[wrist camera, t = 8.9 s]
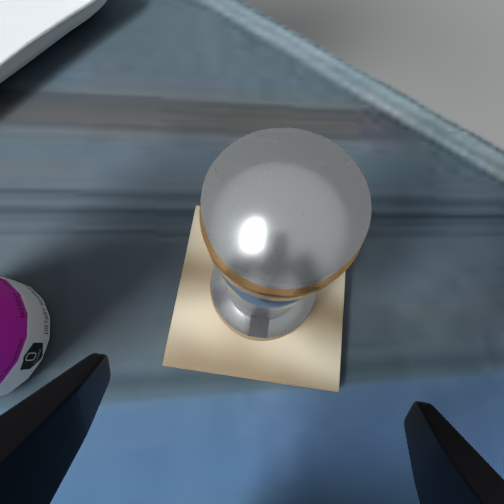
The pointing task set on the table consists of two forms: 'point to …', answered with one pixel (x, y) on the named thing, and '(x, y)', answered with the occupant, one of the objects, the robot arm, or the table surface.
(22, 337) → the supplement can
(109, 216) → the table surface
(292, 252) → the grey tall flared piece
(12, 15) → the salad plate
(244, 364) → the beige square tile
